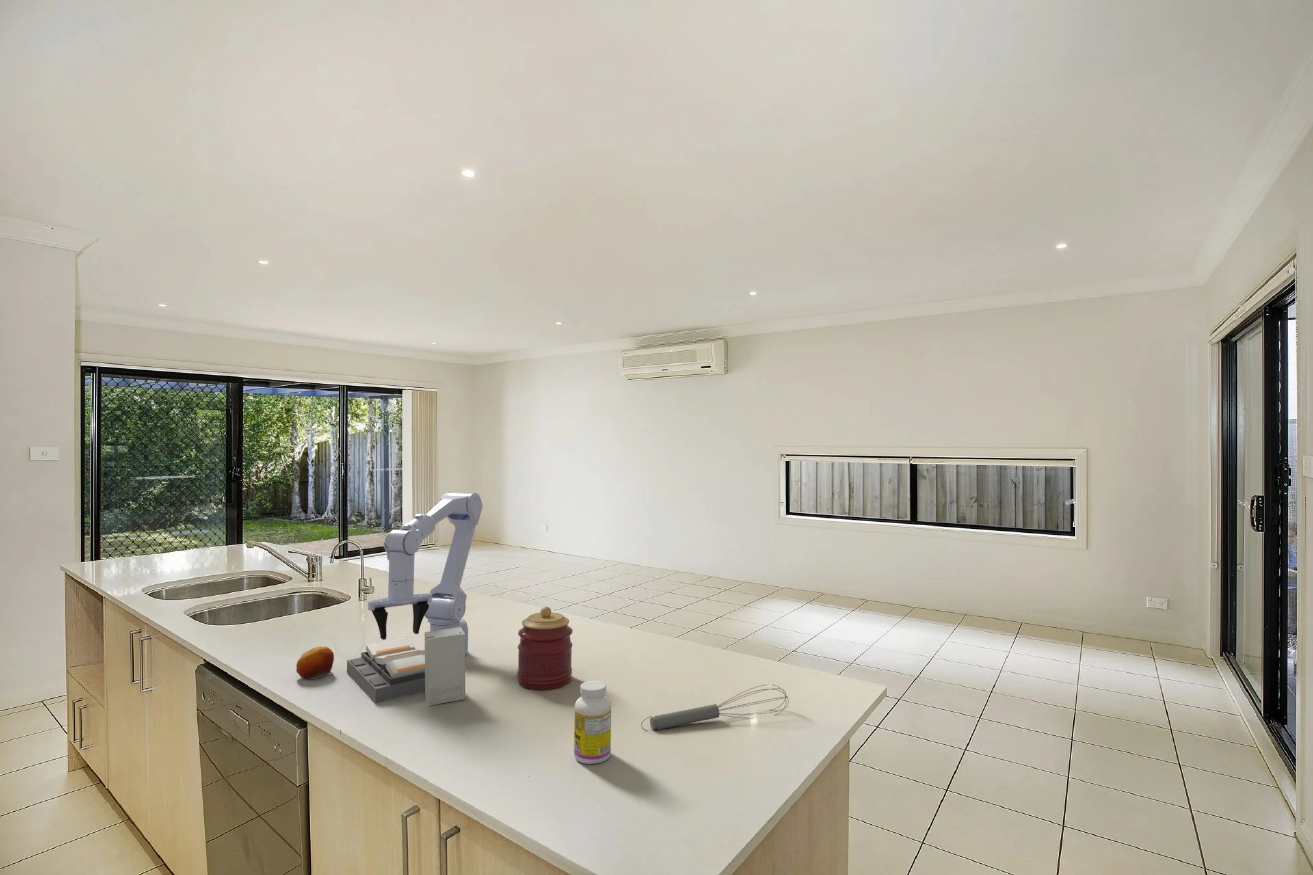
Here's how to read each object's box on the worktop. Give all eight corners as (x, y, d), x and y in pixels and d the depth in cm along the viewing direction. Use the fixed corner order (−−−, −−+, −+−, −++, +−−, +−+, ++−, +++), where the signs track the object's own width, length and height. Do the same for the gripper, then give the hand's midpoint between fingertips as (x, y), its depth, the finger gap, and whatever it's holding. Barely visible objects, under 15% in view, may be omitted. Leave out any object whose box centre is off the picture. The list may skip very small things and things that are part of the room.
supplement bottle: (574, 748, 114) (575, 678, 115) (610, 747, 115) (611, 677, 115) (572, 766, 108) (574, 692, 108) (610, 765, 108) (611, 691, 109)
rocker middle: (417, 654, 154) (417, 648, 154) (425, 655, 150) (425, 649, 150) (375, 663, 148) (375, 656, 148) (382, 664, 143) (382, 657, 144)
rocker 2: (429, 658, 148) (429, 652, 148) (437, 669, 144) (438, 663, 144) (385, 667, 142) (386, 660, 141) (392, 679, 137) (393, 672, 137)
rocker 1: (406, 642, 160) (407, 636, 160) (414, 652, 156) (414, 646, 156) (365, 649, 154) (366, 643, 154) (372, 660, 150) (372, 654, 149)
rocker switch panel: (403, 655, 165) (404, 639, 165) (443, 686, 143) (443, 668, 143) (342, 667, 155) (343, 650, 155) (375, 702, 134) (375, 683, 134)
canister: (582, 676, 151) (583, 604, 152) (551, 694, 140) (553, 616, 140) (538, 667, 157) (539, 598, 157) (505, 684, 145) (507, 609, 145)
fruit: (324, 677, 144) (310, 646, 145) (299, 692, 146) (285, 662, 147) (348, 666, 152) (334, 637, 153) (324, 680, 153) (310, 651, 154)
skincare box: (461, 691, 141) (463, 625, 141) (465, 700, 136) (467, 632, 136) (422, 697, 137) (424, 630, 138) (425, 707, 132) (427, 637, 132)
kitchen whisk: (637, 725, 125) (637, 694, 125) (779, 707, 135) (780, 679, 135) (645, 738, 119) (646, 706, 119) (794, 718, 129) (794, 689, 130)
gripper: (374, 585, 142) (372, 645, 141) (437, 578, 151) (435, 634, 151) (365, 580, 147) (364, 638, 147) (426, 574, 157) (425, 627, 156)
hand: (399, 635), depth 149 cm, fingers open, 7 cm apart
